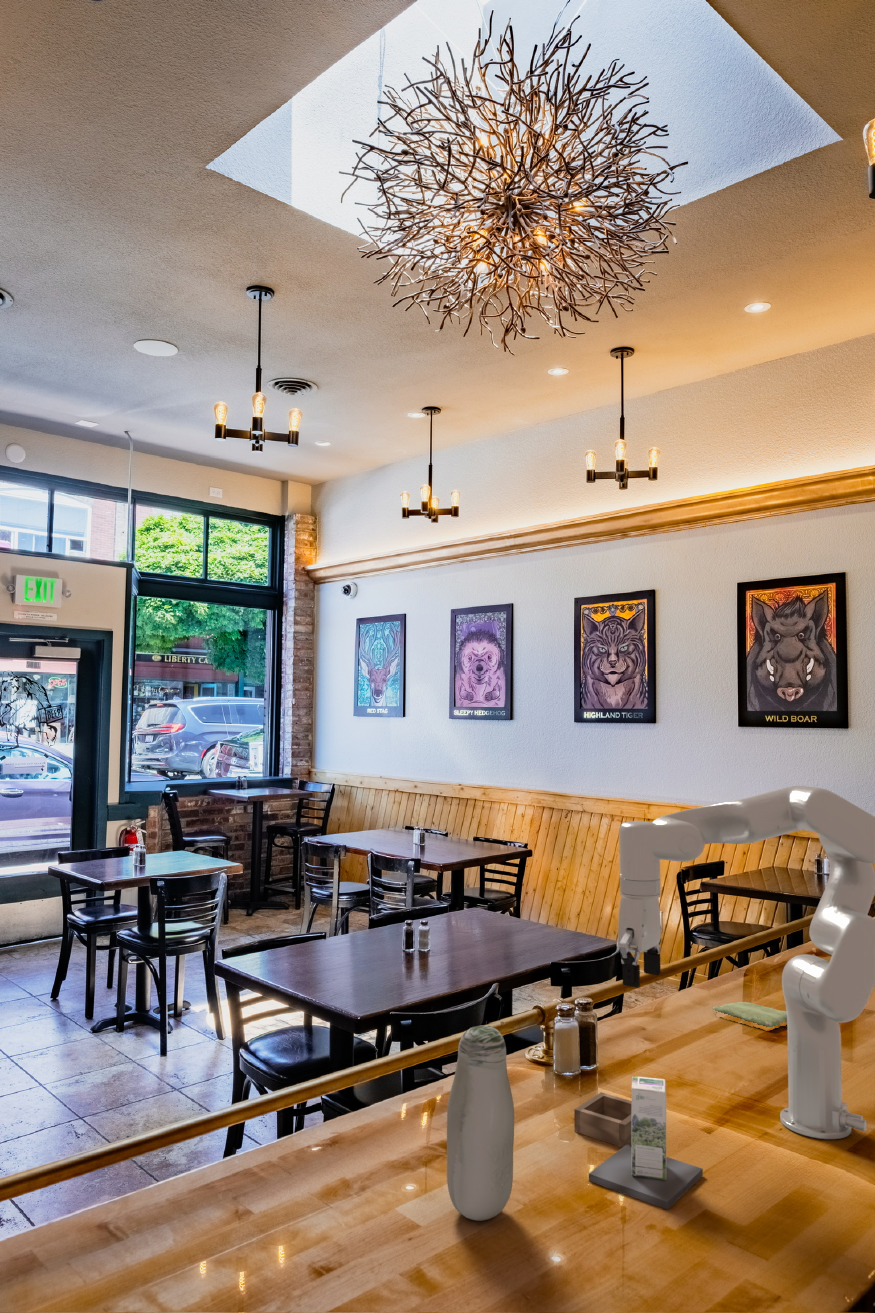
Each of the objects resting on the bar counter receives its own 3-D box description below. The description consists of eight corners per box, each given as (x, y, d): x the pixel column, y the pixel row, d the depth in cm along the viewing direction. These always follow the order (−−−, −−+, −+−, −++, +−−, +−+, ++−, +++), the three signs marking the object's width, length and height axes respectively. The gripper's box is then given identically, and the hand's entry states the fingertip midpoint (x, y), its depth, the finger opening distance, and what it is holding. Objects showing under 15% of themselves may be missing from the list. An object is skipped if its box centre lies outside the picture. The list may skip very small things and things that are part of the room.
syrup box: (666, 1165, 154) (665, 1077, 155) (666, 1182, 148) (666, 1090, 149) (632, 1161, 155) (631, 1074, 156) (631, 1177, 149) (630, 1087, 150)
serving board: (702, 1176, 153) (702, 1168, 153) (667, 1210, 142) (667, 1202, 142) (627, 1151, 161) (627, 1144, 161) (588, 1181, 150) (588, 1173, 150)
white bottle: (493, 1239, 133) (495, 1043, 135) (434, 1218, 138) (437, 1030, 140) (523, 1209, 141) (524, 1025, 143) (467, 1191, 147) (469, 1014, 149)
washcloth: (739, 1008, 247) (739, 996, 247) (798, 1025, 233) (798, 1013, 233) (709, 1017, 239) (709, 1004, 240) (768, 1035, 225) (768, 1022, 225)
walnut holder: (650, 1128, 171) (650, 1106, 171) (625, 1148, 162) (625, 1125, 163) (601, 1113, 177) (601, 1092, 177) (574, 1131, 169) (574, 1109, 169)
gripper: (639, 879, 180) (641, 967, 179) (602, 892, 166) (603, 987, 165) (676, 883, 176) (678, 973, 175) (640, 897, 162) (642, 994, 161)
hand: (642, 980), depth 170 cm, fingers open, 9 cm apart
